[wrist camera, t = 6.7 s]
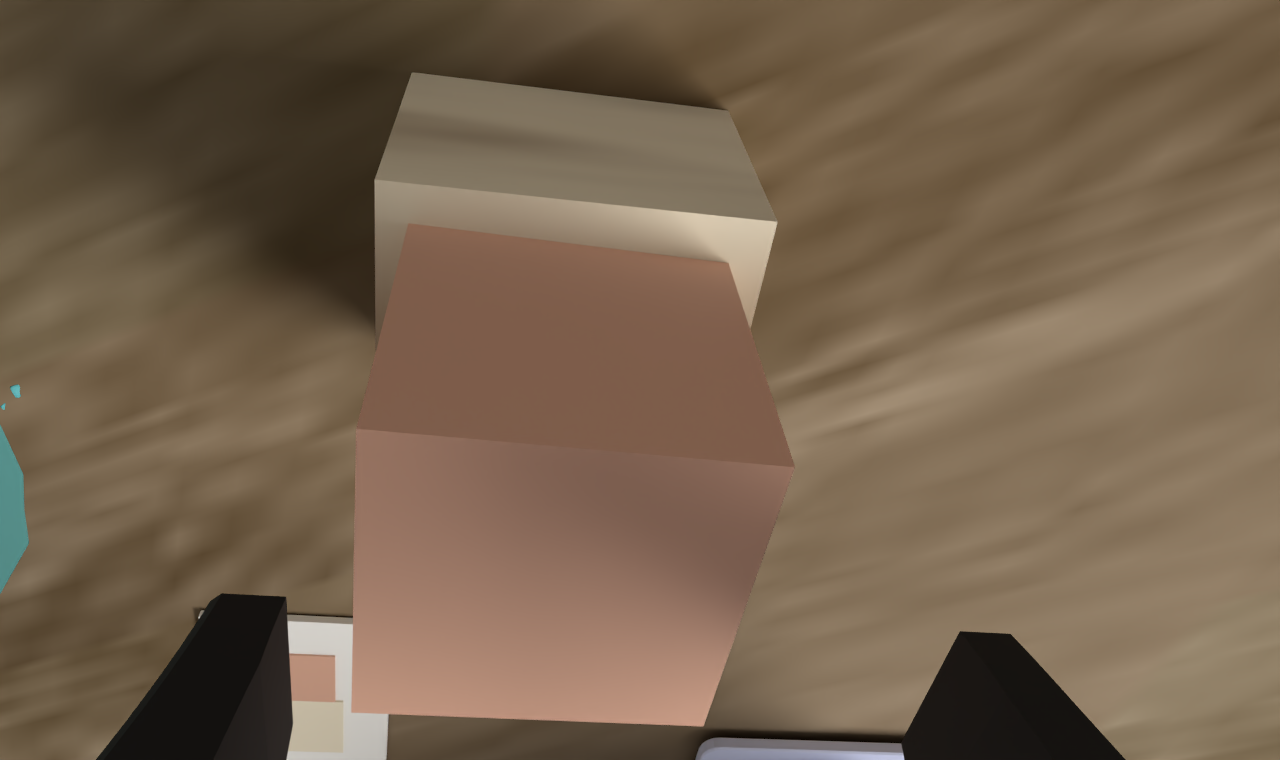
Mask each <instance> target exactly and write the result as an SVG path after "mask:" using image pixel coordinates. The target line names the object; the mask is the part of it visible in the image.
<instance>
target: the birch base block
mask: <svg viewBox="0 0 1280 760" xmlns="http://www.w3.org/2000/svg"><path fill="white" fill-rule="evenodd" d="M408 223H410V224H418V225H426V226H434V227H442V228H450V229H459V230H467V231H475V232H483V233H491V234H499V235H507V236H515V237H523V238H531V239H539V240H547V241H555V242H563V243H571V244H579V245H587V246H595V247H603V248H611V249H620V250H628V251H636V252H644V253H652V254H660V255H668V256H676V257H684V258H692V259H700V260H708V261H716V262H724V263H729V266H730V269H731V272H732V275H733V278H734V281H735V284H736V288H737V291H738V294H739V297H740V300H741V303H742V306H743V309H744V312H745V315H746V318H747V321H748V324H749V327H750V328H751V324H752V320H753V316H754V312H755V308H756V304H757V300H758V296H759V293H760V289H761V285H762V281H763V277H764V273H765V269H766V265H767V261H768V257H769V253H770V249H771V245H772V242H773V238H774V234H775V230H776V226H777V220H776V217H775V215H774V213H773V211H772V208H771V206H770V204H769V202H768V199H767V197H766V195H765V193H764V190H763V188H762V186H761V184H760V181H759V179H758V177H757V175H756V172H755V170H754V168H753V165H752V163H751V161H750V159H749V156H748V154H747V152H746V150H745V147H744V145H743V143H742V141H741V138H740V136H739V134H738V132H737V129H736V127H735V125H734V123H733V120H732V118H731V116H730V113H729V111H727V110H719V109H710V108H702V107H694V106H686V105H677V104H669V103H661V102H653V101H645V100H636V99H628V98H620V97H612V96H603V95H595V94H587V93H579V92H571V91H562V90H554V89H546V88H538V87H529V86H521V85H513V84H505V83H496V82H488V81H480V80H472V79H464V78H455V77H447V76H439V75H431V74H422V73H414V72H412V73H411V76H410V79H409V82H408V85H407V88H406V91H405V94H404V96H403V99H402V102H401V105H400V108H399V111H398V114H397V117H396V120H395V122H394V125H393V128H392V131H391V134H390V137H389V140H388V143H387V145H386V148H385V151H384V154H383V157H382V160H381V163H380V166H379V168H378V171H377V174H376V177H375V342H376V349H377V345H378V341H379V337H380V333H381V329H382V326H383V322H384V318H385V314H386V310H387V306H388V302H389V298H390V294H391V290H392V286H393V282H394V278H395V274H396V270H397V266H398V262H399V258H400V254H401V251H402V247H403V243H404V239H405V235H406V231H407V227H408Z"/></svg>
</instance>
